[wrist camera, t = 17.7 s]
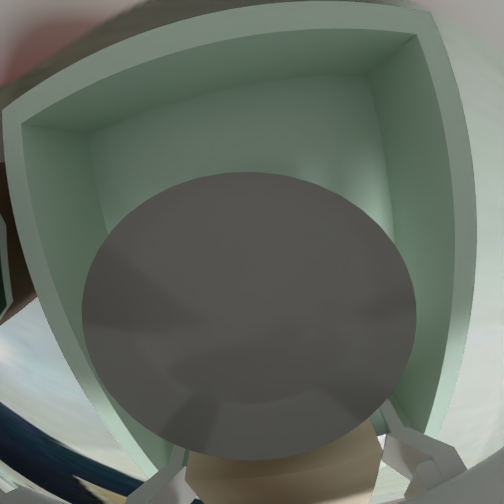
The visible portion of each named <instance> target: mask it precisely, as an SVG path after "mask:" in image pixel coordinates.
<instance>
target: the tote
mask: <svg viewBox="0 0 504 504" xmlns="http://www.w3.org/2000/svg"><path fill="white" fill-rule="evenodd" d="M2 129H3V145H4V156H5V165H6V173H7V180H8V187H9V193H10V199H11V204H12V209H13V214H14V218H15V223H16V227H17V231H18V235H19V239H20V243H21V247H22V250H23V254H24V257H25V260H26V264H27V267H28V270H29V273H30V276H31V279H32V282H33V285H34V288H35V290H36V293H37V296H38V298H39V301H40V304H41V306H42V309H43V311H44V313H45V316H46V318H47V321H48V323H49V325H50V328H51V330H52V332H53V334H54V336H55V338H56V341H57V343H58V345H59V347H60V349H61V351H62V353H63V355H64V357H65V359H66V361H67V363H68V365H69V366H70V368H71V370H72V372H73V374H74V376H75V377H76V379H77V381H78V383H79V384H80V386H81V388H82V389H83V391H84V393H85V394H86V396H87V398H88V399H89V401H90V403H91V404H92V406H93V407H94V409H95V410H96V412H97V413H98V415H99V416H100V418H101V419H102V421H103V422H104V424H105V425H106V427H107V428H108V429H109V431H110V432H111V434H112V435H113V436H114V438H115V439H116V440H117V442H118V443H119V444H120V446H121V447H122V448H123V450H124V451H125V452H126V453H127V455H128V456H129V457H130V458H131V460H132V461H133V462H134V463H135V464H136V466H137V467H138V468H139V469H140V470H141V471H142V473H143V474H144V475H145V476H146V477H147V478H148V479H150V478H151V477H152V476H153V475H154V474H156V473H157V472H158V471H159V470H160V469H161V468H162V467H164V466H165V465H169V462H170V458H171V454H172V450H173V446H174V444H173V443H171V442H169V441H167V440H165V439H163V438H161V437H159V436H158V435H156V434H154V433H153V432H151V431H150V430H148V429H147V428H145V427H144V426H143V425H141V424H140V423H139V422H137V421H136V420H135V419H134V418H132V417H131V416H130V415H129V414H128V413H127V412H126V411H125V410H124V409H123V408H122V407H121V406H120V405H119V404H118V403H117V402H116V400H115V399H114V398H113V397H112V395H111V394H110V393H109V392H108V390H107V389H106V387H105V386H104V384H103V383H102V381H101V379H100V378H99V376H98V374H97V372H96V370H95V368H94V366H93V364H92V362H91V359H90V356H89V353H88V350H87V347H86V343H85V338H84V333H83V327H82V299H83V291H84V286H85V282H86V279H87V275H88V272H89V269H90V266H91V264H92V262H93V260H94V258H95V256H96V253H97V251H98V249H99V248H100V246H101V245H102V244H103V242H104V241H105V239H106V238H107V236H108V235H109V233H110V232H111V231H112V230H113V229H114V228H115V227H116V226H117V224H118V223H119V222H120V221H121V220H122V219H123V218H124V217H125V216H126V215H127V214H128V213H130V212H131V211H132V210H134V209H135V208H136V207H138V206H139V205H140V204H142V203H143V202H144V201H146V200H147V199H149V198H151V197H153V196H155V195H156V194H158V193H160V192H162V191H164V190H166V189H168V188H170V187H172V186H175V185H178V184H181V183H184V182H187V181H190V180H193V179H196V178H199V177H205V176H210V175H216V174H222V173H231V172H262V173H270V174H278V175H286V176H290V177H293V178H297V179H300V180H304V181H308V182H311V183H314V184H317V185H319V186H321V187H323V188H326V189H328V190H330V191H332V192H334V193H337V194H339V195H340V196H342V197H344V198H345V199H347V200H348V201H350V202H351V203H353V204H354V205H356V206H357V207H359V208H360V209H362V210H363V211H364V212H365V213H366V214H367V215H368V216H370V217H371V218H372V219H373V220H374V221H375V222H376V223H377V224H378V225H379V226H380V227H381V228H382V229H383V230H384V232H385V233H386V234H387V235H388V237H389V238H390V239H391V240H392V242H393V243H394V244H395V246H396V248H397V249H398V251H399V253H400V255H401V257H402V258H403V260H404V262H405V264H406V266H407V269H408V272H409V275H410V278H411V280H412V283H413V288H414V293H415V299H416V311H417V325H416V333H415V340H414V344H413V348H412V351H411V355H410V358H409V361H408V363H407V366H406V368H405V370H404V372H403V375H402V376H401V378H400V380H399V381H398V383H397V385H396V386H395V388H394V390H393V391H392V392H391V394H390V395H389V396H388V398H387V399H386V400H389V401H390V402H391V404H392V406H393V407H394V409H395V411H396V413H397V415H398V417H399V419H400V420H401V422H402V424H403V426H404V428H405V427H410V428H412V429H414V430H416V431H418V432H421V433H423V434H425V435H427V436H429V437H432V438H434V439H436V440H437V438H438V435H439V433H440V430H441V428H442V425H443V422H444V420H445V417H446V414H447V411H448V408H449V405H450V402H451V399H452V395H453V392H454V389H455V385H456V382H457V378H458V374H459V370H460V366H461V362H462V358H463V353H464V349H465V344H466V339H467V333H468V328H469V322H470V315H471V308H472V301H473V292H474V282H475V269H476V247H477V216H476V195H475V182H474V171H473V163H472V155H471V148H470V142H469V136H468V130H467V125H466V120H465V115H464V111H463V106H462V102H461V98H460V94H459V90H458V87H457V83H456V80H455V76H454V73H453V70H452V67H451V63H450V60H449V57H448V55H447V52H446V49H445V46H444V43H443V41H442V38H441V36H440V33H439V31H438V28H437V26H436V24H435V21H434V19H433V17H432V14H431V13H430V12H426V11H421V10H416V9H410V8H405V7H398V6H392V5H384V4H375V3H364V2H349V1H298V2H282V3H271V4H262V5H254V6H247V7H240V8H234V9H229V10H223V11H218V12H214V13H209V14H205V15H200V16H196V17H192V18H188V19H185V20H181V21H177V22H174V23H171V24H167V25H164V26H161V27H158V28H155V29H152V30H149V31H146V32H143V33H141V34H138V35H135V36H133V37H130V38H128V39H125V40H123V41H120V42H118V43H115V44H113V45H111V46H108V47H106V48H104V49H102V50H100V51H98V52H95V53H93V54H91V55H89V56H87V57H85V58H83V59H81V60H79V61H77V62H76V63H74V64H72V65H70V66H68V67H66V68H65V69H63V70H61V71H59V72H58V73H56V74H54V75H52V76H51V77H49V78H47V79H46V80H44V81H43V82H41V83H40V84H38V85H36V86H35V87H33V88H32V89H30V90H29V91H27V92H26V93H24V94H23V95H22V96H20V97H19V98H17V99H16V100H15V101H13V102H12V103H11V104H9V105H8V106H7V107H5V108H4V109H3V110H2ZM385 466H388V465H387V464H386V463H384V462H383V461H382V460H381V462H380V467H379V468H382V467H385Z"/></svg>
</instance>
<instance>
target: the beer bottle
mask: <svg viewBox="0 0 504 504" xmlns="http://www.w3.org/2000/svg"><path fill="white" fill-rule="evenodd" d="M36 297H37V293H36V290H35V288H34V285H33V282H32V279H31V276H30V273H29V270H28V267H27V264H26V260H25V257H24V254H23V250H22V247H21V243H20V239H19V235H18V231H17V227H16V223H15V218H14V214H13V209H12V204H11V199H10V193H9V187H8V180H7V173H6V165H5V163H0V325H2V324H3V323H4V322H6V321H7V320H8V319H10V318H11V317H12V316H14V315H15V314H16V313H18V312H19V311H21V310H22V309H23V308H24V307H25V306H26V305H28V304H29V303H30V302H31V301H32V300H34V299H35V298H36Z"/></svg>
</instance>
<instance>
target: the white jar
mask: <svg viewBox="0 0 504 504" xmlns="http://www.w3.org/2000/svg"><path fill="white" fill-rule="evenodd" d="M416 325H417V311H416V299H415V293H414V288H413V283H412V280H411V278H410V275H409V272H408V269H407V266H406V264H405V262H404V260H403V258H402V257H401V255H400V253H399V251H398V249H397V248H396V246H395V244H394V243H393V242H392V240H391V239H390V238H389V237H388V235H387V234H386V233H385V232H384V230H383V229H382V228H381V227H380V226H379V225H378V224H377V223H376V222H375V221H374V220H373V219H372V218H371V217H370V216H368V215H367V214H366V213H365V212H364V211H363V210H362V209H360V208H359V207H357V206H356V205H354V204H353V203H351V202H350V201H348V200H347V199H345V198H344V197H342V196H340V195H339V194H337V193H334V192H332V191H330V190H328V189H326V188H323V187H321V186H319V185H317V184H314V183H311V182H308V181H304V180H300V179H297V178H293V177H290V176H286V175H278V174H270V173H262V172H231V173H222V174H216V175H210V176H205V177H199V178H196V179H193V180H190V181H187V182H184V183H181V184H178V185H175V186H172V187H170V188H168V189H166V190H164V191H162V192H160V193H158V194H156V195H155V196H153V197H151V198H149V199H147V200H146V201H144V202H143V203H142V204H140V205H139V206H138V207H136V208H135V209H134V210H132V211H131V212H130V213H128V214H127V215H126V216H125V217H124V218H123V219H122V220H121V221H120V222H119V223H118V224H117V226H116V227H115V228H114V229H113V230H112V231H111V232H110V233H109V235H108V236H107V238H106V239H105V241H104V242H103V244H102V245H101V246H100V248H99V249H98V251H97V253H96V256H95V258H94V260H93V262H92V264H91V266H90V269H89V272H88V275H87V279H86V282H85V286H84V291H83V299H82V327H83V333H84V338H85V343H86V347H87V350H88V353H89V356H90V359H91V362H92V364H93V366H94V368H95V370H96V372H97V374H98V376H99V378H100V379H101V381H102V383H103V384H104V386H105V387H106V389H107V390H108V392H109V393H110V394H111V395H112V397H113V398H114V399H115V400H116V402H117V403H118V404H119V405H120V406H121V407H122V408H123V409H124V410H125V411H126V412H127V413H128V414H129V415H130V416H131V417H132V418H134V419H135V420H136V421H137V422H139V423H140V424H141V425H143V426H144V427H145V428H147V429H148V430H150V431H151V432H153V433H154V434H156V435H158V436H159V437H161V438H163V439H165V440H167V441H169V442H171V443H173V444H175V445H178V446H180V447H183V448H185V449H188V450H190V451H194V452H197V453H201V454H204V455H208V456H213V457H218V458H224V459H233V460H269V459H278V458H284V457H289V456H294V455H298V454H302V453H305V452H308V451H312V450H314V449H317V448H319V447H322V446H324V445H327V444H329V443H331V442H333V441H335V440H337V439H339V438H341V437H342V436H344V435H346V434H347V433H349V432H350V431H352V430H353V429H355V428H356V427H358V426H359V425H360V424H361V423H363V422H364V421H365V420H366V419H368V418H369V417H370V416H371V415H372V414H373V413H374V412H375V411H376V410H377V409H378V408H379V407H380V406H381V405H382V404H383V403H384V401H385V400H386V399H387V398H388V396H389V395H390V394H391V392H392V391H393V390H394V388H395V386H396V385H397V383H398V381H399V380H400V378H401V376H402V375H403V372H404V370H405V368H406V366H407V363H408V361H409V358H410V355H411V351H412V348H413V344H414V340H415V333H416Z"/></svg>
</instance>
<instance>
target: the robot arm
mask: <svg viewBox="0 0 504 504" xmlns="http://www.w3.org/2000/svg"><path fill="white" fill-rule="evenodd" d="M369 418H370V421H371V423H372V425H373V428H374V430H375V433H376V435H377V437H378V440H379V442H380V445H381V447H382V449H383V454H382V458H381V460H382V461H383V462H384V463H386V464H387V465H388V466H390V467H391V468H393V469H394V470H396V471H397V472H399V473H400V474H402V475H403V476H405V477H406V478H408V479H409V480H411V482H410V484H409V486H408V488H407V490H406V492H405V494H404V496H405V499H406V500H404V501H401V502H398V503H396V504H504V447H502V448H501V449H499V450H498V451H497V452H495V453H494V454H492V455H491V456H489V457H488V458H486V459H484V460H483V461H481V462H480V463H478V464H476V465H475V466H473V467H471V468H470V469H468V470H467V468H466V467H465V465H464V463H463V461H462V460H461V458H460V456H459V455H458V453H457V451H456V450H455V448H454V447H453V446H450V445H448V444H445V443H443V442H441V441H439V440H436V439H434V438H432V437H429V436H427V435H425V434H423V433H421V432H418V431H416V430H414V429H412V428H410V427H405V428H404V426H403V424H402V422H401V420H400V419H399V417H398V415H397V413H396V411H395V409H394V407H393V406H392V404H391V402H390V401H389V400H385V401H384V403H383V404H382V405H381V406H380V407H379V408H378V409H377V410H376V411H375V412H374V413H373V414H372V415H371V416H370V417H369ZM189 453H190V450H188V449H185V448H183V447H180V446H178V445H175V444H174V446H173V450H172V454H171V458H170V462H169V465H165V466H164V467H162V468H161V469H160V470H159V471H158V472H157V473H156V474H154V475H153V476H152V477H151V478H150V479H148V480H147V481H146V482H145V483H144V484H143V485H141V486H140V487H139V488H138V489H136V490H135V491H134V492H133V493H131V494H130V495H129V496H128V497H127V500H126V503H125V504H190V503H191V502H192V501H193V500H194V499H195V497H196V496H197V495H196V494H195V492H194V491H193V490H192V489H191V488H190V486H189V485H188V484H187V483H186V481H185V480H184V478H185V473H186V468H187V463H188V458H189ZM0 504H63V503H61V502H58V501H55V500H53V499H51V498H48V497H46V496H43V495H41V494H39V493H37V492H35V491H33V490H30V489H28V488H25V487H20V488H17V489H15V490H12V491H10V492H8V493H6V494H4V495H2V496H0Z"/></svg>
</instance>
